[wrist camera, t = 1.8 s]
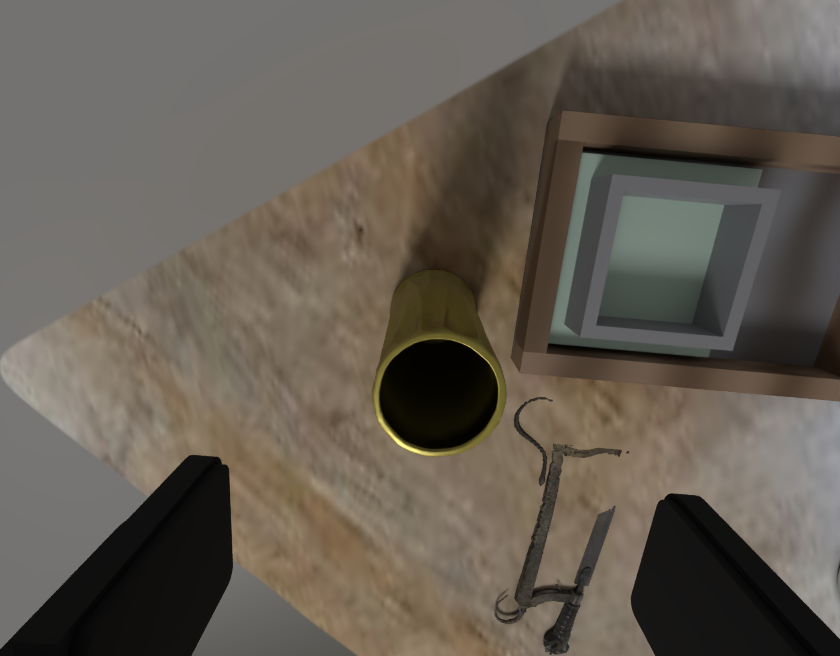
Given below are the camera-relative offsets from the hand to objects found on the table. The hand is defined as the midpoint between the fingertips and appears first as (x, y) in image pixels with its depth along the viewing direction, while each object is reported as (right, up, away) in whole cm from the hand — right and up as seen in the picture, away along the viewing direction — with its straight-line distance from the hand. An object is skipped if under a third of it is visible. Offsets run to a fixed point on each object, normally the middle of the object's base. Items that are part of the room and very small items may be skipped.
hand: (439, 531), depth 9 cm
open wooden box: (+18, +9, +19) cm, 28 cm away
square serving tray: (+14, +9, +19) cm, 26 cm away
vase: (0, +6, +21) cm, 22 cm away
